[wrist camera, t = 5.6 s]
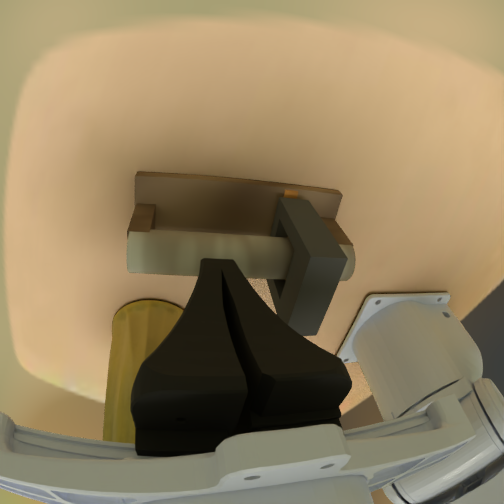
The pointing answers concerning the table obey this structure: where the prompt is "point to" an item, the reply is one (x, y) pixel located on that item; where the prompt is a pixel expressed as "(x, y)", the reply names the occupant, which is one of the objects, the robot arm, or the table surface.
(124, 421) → the vase
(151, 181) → the pipe stand
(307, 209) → the dark grey square frame
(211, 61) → the table surface
